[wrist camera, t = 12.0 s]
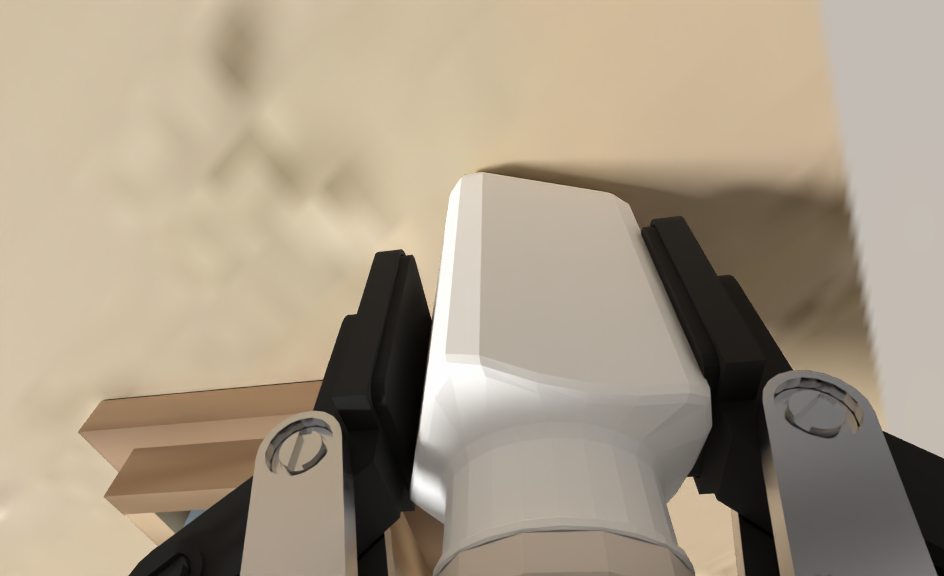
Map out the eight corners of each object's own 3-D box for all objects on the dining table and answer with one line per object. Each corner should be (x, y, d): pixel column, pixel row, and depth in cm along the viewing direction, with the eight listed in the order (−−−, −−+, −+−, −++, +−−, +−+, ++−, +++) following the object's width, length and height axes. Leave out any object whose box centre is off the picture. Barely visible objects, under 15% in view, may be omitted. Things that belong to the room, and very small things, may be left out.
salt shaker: (581, 318, 14) (689, 824, 6) (434, 297, 14) (367, 805, 6) (633, 185, 11) (908, 753, 4) (455, 156, 11) (388, 713, 4)
